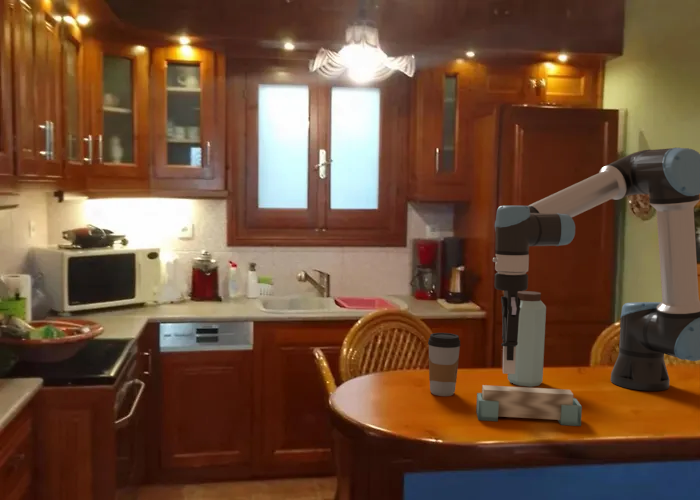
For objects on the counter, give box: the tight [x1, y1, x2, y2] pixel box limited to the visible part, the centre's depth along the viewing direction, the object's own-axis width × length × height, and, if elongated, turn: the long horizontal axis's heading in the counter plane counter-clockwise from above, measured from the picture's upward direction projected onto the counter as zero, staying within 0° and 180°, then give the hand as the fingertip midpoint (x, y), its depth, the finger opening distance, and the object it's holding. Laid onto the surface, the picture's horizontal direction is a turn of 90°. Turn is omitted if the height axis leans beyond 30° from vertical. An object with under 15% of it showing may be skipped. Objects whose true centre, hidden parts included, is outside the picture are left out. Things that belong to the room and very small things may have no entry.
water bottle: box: [507, 290, 547, 388], centre depth 198 cm, size 10×10×25 cm
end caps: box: [475, 392, 583, 427], centre depth 167 cm, size 23×7×4 cm, turn 84°
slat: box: [481, 384, 574, 421], centre depth 167 cm, size 20×4×6 cm, turn 84°
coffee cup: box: [427, 332, 461, 397], centre depth 186 cm, size 8×8×15 cm
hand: (508, 372), depth 169 cm, fingers closed
